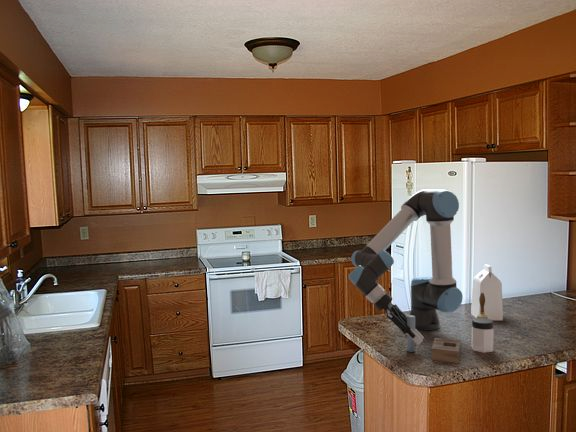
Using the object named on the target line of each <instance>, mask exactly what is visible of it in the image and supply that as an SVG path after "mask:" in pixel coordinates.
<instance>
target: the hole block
mask: <svg viewBox="0 0 576 432" xmlns="http://www.w3.org/2000/svg"><path fill="white" fill-rule="evenodd" d="M460 356H461V339H451V338H443V337H442V338H441V337H434V340H433V343H432V347H431V361H438V362H447V363H456V364H457V363H458V364H459V363H460Z"/></svg>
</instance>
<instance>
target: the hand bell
mask: <svg viewBox="0 0 576 432" xmlns="http://www.w3.org/2000/svg"><path fill="white" fill-rule="evenodd" d="M479 302H480V306H481V308H480V310H481V311H480V314H479V315H477V318H486V319H488V318H487V315H485V314H484V305H485V296H484V293H481V295H480V298H479Z"/></svg>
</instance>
